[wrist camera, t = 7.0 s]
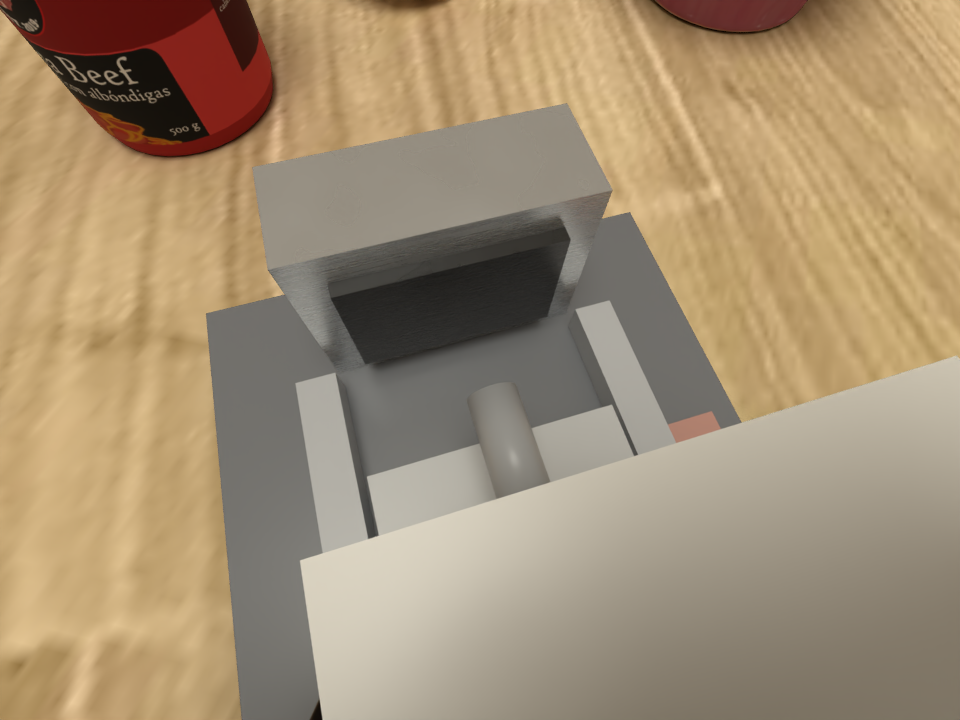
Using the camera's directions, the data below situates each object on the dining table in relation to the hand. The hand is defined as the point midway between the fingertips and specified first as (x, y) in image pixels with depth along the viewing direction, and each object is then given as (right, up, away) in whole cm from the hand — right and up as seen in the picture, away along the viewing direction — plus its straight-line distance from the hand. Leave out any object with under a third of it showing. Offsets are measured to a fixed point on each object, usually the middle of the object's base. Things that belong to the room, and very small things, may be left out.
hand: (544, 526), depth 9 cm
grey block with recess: (-2, +5, +8) cm, 10 cm away
